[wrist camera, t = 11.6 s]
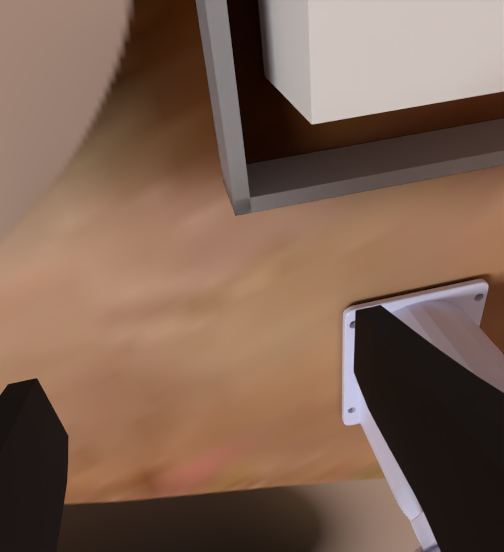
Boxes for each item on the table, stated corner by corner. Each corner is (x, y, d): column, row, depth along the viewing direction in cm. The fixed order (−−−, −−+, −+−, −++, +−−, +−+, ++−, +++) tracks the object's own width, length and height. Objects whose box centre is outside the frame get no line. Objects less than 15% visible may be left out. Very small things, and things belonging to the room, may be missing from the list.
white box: (417, 50, 18) (518, 88, 13) (264, 75, 18) (311, 124, 13) (430, -98, 16) (562, -119, 11) (251, -76, 15) (305, -86, 10)
